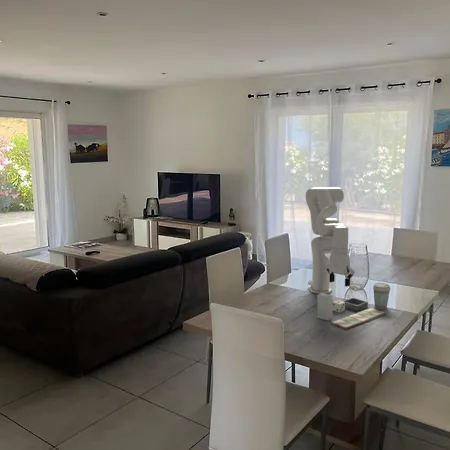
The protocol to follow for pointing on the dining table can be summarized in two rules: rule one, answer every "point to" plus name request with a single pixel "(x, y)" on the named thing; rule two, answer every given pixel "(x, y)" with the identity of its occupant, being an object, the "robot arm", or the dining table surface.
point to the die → (338, 306)
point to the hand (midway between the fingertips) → (339, 283)
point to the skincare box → (324, 306)
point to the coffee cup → (381, 295)
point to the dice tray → (355, 304)
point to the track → (358, 318)
